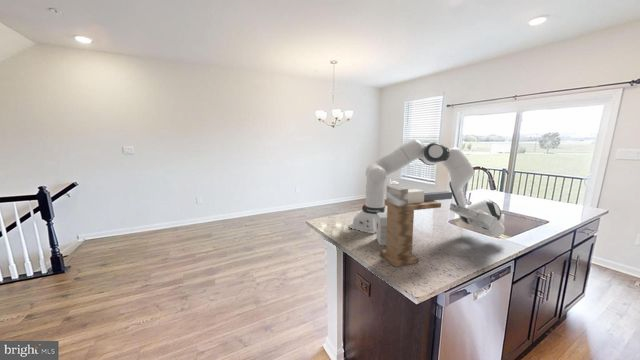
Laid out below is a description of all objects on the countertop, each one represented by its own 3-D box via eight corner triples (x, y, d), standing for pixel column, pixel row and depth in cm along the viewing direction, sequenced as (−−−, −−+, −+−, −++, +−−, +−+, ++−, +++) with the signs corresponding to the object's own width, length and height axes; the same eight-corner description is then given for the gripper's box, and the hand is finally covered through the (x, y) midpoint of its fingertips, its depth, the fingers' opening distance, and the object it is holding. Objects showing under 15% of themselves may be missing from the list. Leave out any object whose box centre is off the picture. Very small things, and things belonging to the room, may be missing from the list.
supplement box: (375, 238, 133) (376, 212, 130) (392, 238, 133) (393, 212, 130) (379, 245, 124) (380, 217, 122) (397, 245, 124) (398, 217, 121)
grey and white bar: (445, 196, 115) (446, 186, 115) (453, 199, 111) (454, 188, 110) (401, 200, 109) (401, 190, 108) (407, 203, 104) (408, 192, 104)
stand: (419, 248, 120) (423, 182, 115) (437, 259, 109) (442, 187, 104) (379, 254, 114) (381, 185, 109) (394, 266, 103) (396, 190, 98)
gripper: (463, 207, 129) (445, 196, 125) (501, 219, 110) (481, 206, 106) (457, 218, 130) (440, 207, 125) (494, 231, 110) (474, 219, 106)
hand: (459, 207), depth 115 cm, fingers open, 8 cm apart
